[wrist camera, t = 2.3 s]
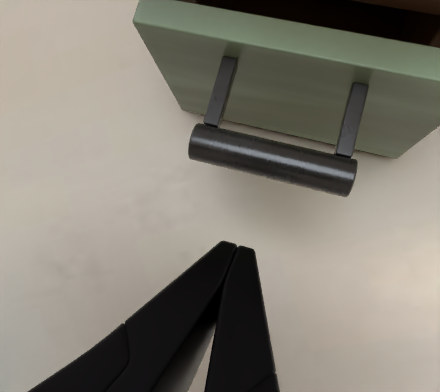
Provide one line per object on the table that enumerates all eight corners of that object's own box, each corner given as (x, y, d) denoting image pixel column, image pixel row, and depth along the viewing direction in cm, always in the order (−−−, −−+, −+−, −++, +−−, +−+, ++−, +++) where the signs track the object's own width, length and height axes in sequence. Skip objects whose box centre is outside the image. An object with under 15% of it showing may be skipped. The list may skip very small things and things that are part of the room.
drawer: (380, 234, 21) (461, 216, 12) (161, 177, 23) (96, 127, 14) (445, -59, 23) (554, -252, 14) (241, -88, 25) (227, -273, 16)
